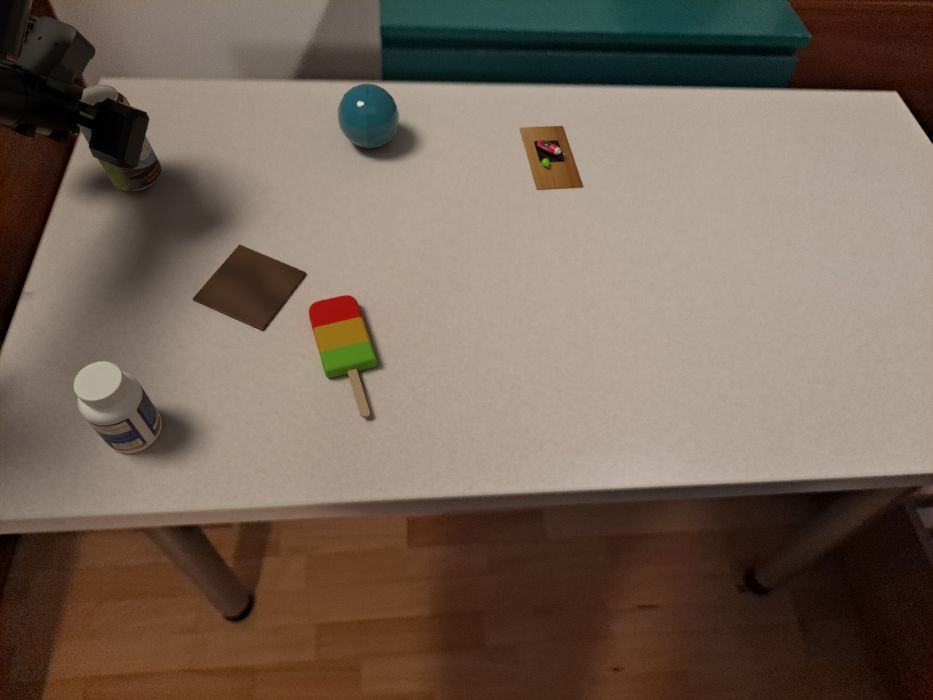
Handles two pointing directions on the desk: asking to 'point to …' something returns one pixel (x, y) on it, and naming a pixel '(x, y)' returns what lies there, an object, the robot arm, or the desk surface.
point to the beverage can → (148, 161)
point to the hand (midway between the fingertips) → (120, 125)
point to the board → (550, 157)
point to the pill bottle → (117, 407)
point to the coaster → (250, 287)
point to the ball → (368, 116)
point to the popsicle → (343, 342)
